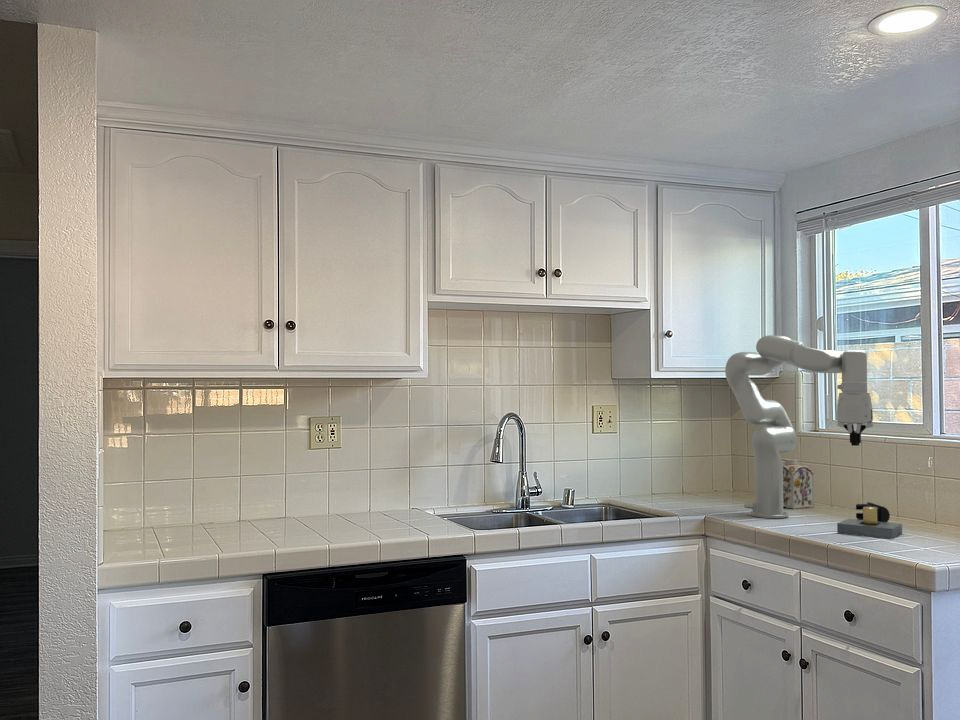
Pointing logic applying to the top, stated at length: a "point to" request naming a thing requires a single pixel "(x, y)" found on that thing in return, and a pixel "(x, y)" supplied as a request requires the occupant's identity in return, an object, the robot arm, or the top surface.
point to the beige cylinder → (870, 515)
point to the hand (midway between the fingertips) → (855, 445)
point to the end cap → (882, 512)
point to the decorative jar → (797, 485)
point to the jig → (869, 528)
